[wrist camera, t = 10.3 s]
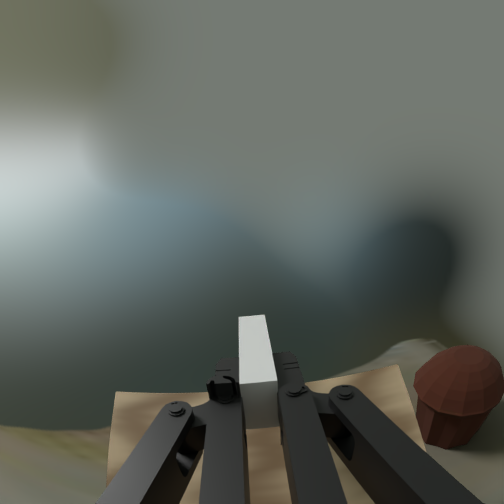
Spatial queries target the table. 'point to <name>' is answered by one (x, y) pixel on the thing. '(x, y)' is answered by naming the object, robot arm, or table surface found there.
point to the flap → (263, 434)
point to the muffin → (456, 394)
